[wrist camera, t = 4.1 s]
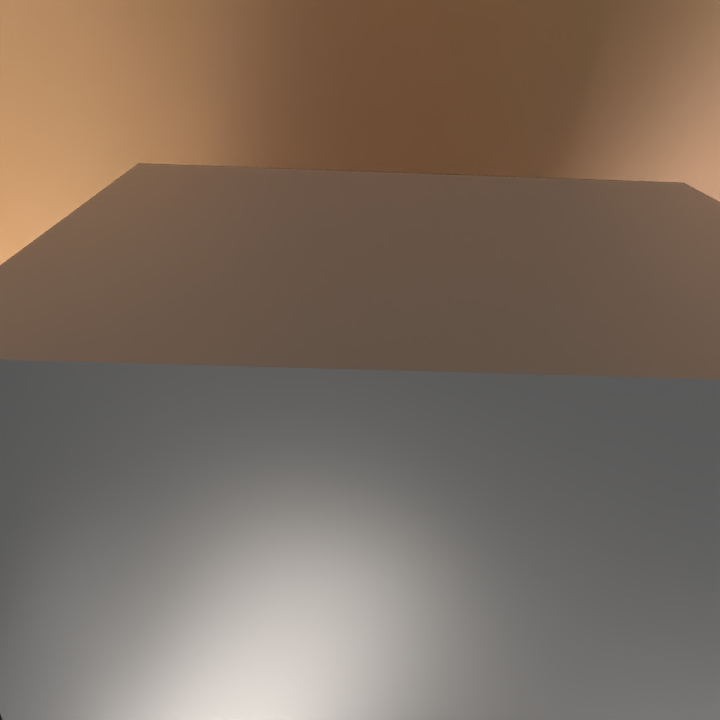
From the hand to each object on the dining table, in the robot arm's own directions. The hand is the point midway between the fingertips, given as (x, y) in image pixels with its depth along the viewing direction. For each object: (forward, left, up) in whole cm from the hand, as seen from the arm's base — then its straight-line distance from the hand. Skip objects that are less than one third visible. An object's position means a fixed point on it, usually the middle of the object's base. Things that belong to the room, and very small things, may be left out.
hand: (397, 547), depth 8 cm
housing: (0, 0, -1) cm, 1 cm away
